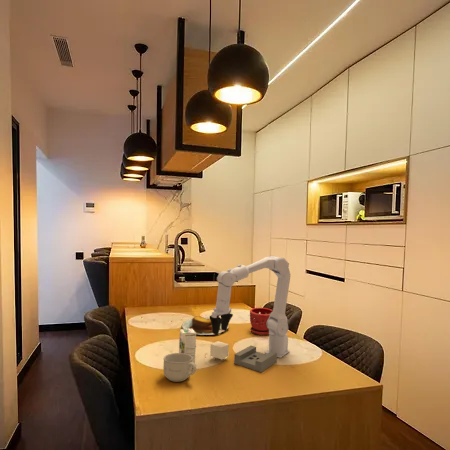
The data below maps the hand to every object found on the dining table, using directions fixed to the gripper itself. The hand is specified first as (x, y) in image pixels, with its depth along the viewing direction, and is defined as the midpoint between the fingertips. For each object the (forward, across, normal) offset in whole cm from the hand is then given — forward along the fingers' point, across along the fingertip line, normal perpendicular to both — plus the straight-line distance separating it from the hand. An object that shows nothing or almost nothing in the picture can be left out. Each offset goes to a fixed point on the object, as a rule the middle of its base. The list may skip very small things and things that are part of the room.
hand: (219, 331), depth 142 cm
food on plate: (+12, -35, -26) cm, 46 cm away
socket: (+11, -7, +15) cm, 20 cm away
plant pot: (+9, -46, +3) cm, 47 cm away
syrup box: (+14, +10, -8) cm, 19 cm away
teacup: (+15, +21, -4) cm, 26 cm away
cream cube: (+12, -3, 0) cm, 13 cm away
